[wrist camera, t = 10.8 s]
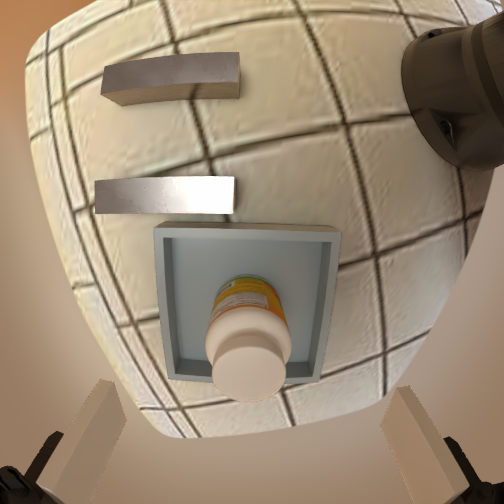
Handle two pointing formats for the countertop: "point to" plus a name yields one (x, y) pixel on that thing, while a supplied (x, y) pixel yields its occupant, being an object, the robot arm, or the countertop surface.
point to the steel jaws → (166, 89)
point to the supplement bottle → (248, 340)
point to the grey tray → (236, 264)
